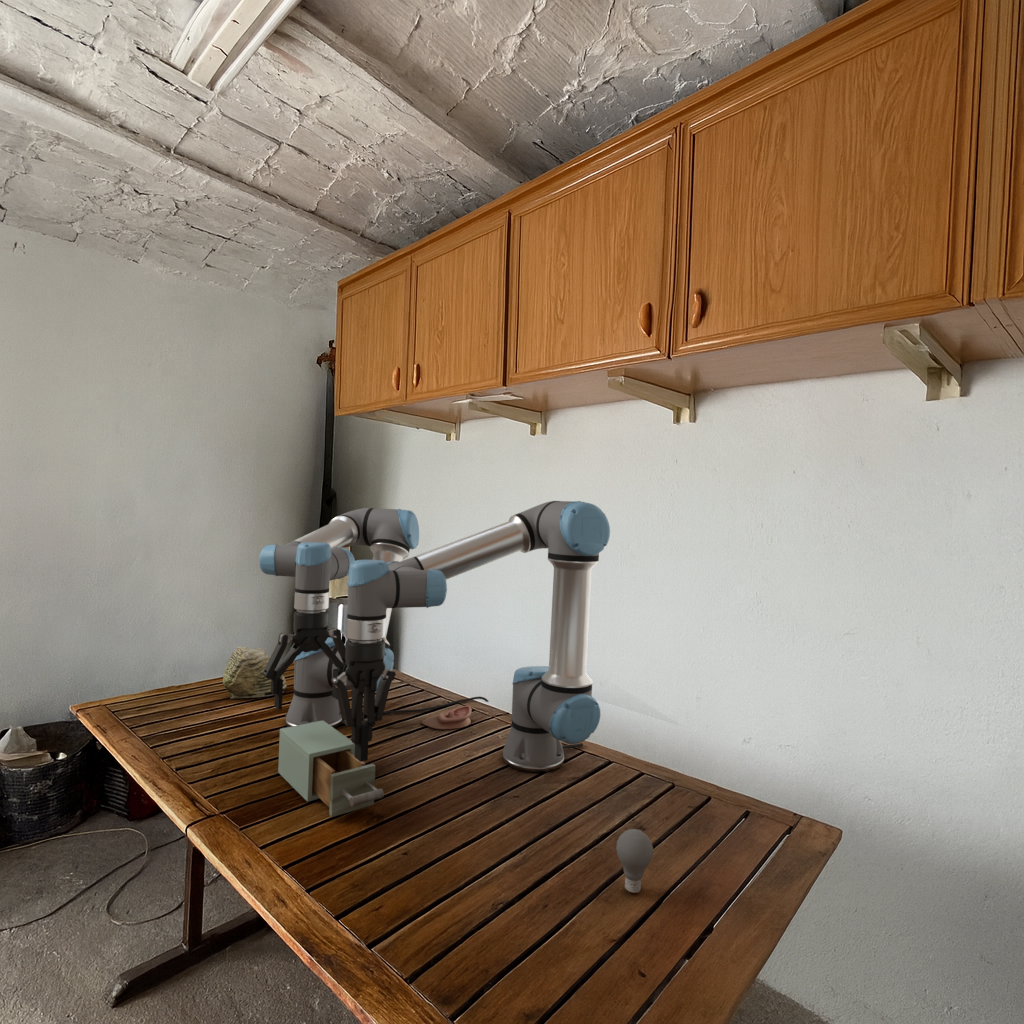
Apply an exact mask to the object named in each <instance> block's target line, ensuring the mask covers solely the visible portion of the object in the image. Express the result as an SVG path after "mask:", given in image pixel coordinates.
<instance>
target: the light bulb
mask: <svg viewBox="0 0 1024 1024" xmlns="http://www.w3.org/2000/svg"><path fill="white" fill-rule="evenodd" d="M615 849H616V854H617V857H618V859H619V861H620V863H621V865H622V867H623V873H624V874H623V875H624V876H625V878H624V888H625V890H627V891H628V892H630V893H634V894H635V893H639V892H640V891H641V889H642V887H641V886H642V879H643V877H644V875H645V871H646V868H647V867H648V866H649V864H650V863H651V861H652V859H653V855H654V847H653V843H652V841H651V838H649V836H648V835H647V834H646V833H645V832H643V831H642V830H641V829H636V828H629V829H627V830H625V831H623V832H622V833H621V834H620V835H619V837H618V839H617V841H616V847H615Z"/></svg>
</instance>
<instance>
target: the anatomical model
mask: <svg viewBox="0 0 1024 1024" xmlns="http://www.w3.org/2000/svg"><path fill="white" fill-rule="evenodd" d="M471 715H472V707H471V706H470V705H462V706H459V707H456V708H455V707H454V708H452V709H449V710H447V711H444V712H441V713H437V714H434V715H430V716H429V717H427V718H425V719H423V720H422V721H421V724H422V725H423V726H426V727H429V728H432V729H436V730H453V729H454V730H455V729H460V728H465V727H468V726H469V725H470V724H471V722H472V721H471V718H470V717H471Z"/></svg>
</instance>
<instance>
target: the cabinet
mask: <svg viewBox="0 0 1024 1024" xmlns="http://www.w3.org/2000/svg"><path fill="white" fill-rule="evenodd" d="M278 741H279V742H278V766H277V767H278V768H277V769H278V770H277V772H278V774H279V775H280V776H281V777H282V778H283V779H284V780H285V781H286V782H287V783H288V784H289V785H290V786H291V787H292V789H294V790H295V792H297V793H298V794H299V795H300V796H301V797H302V798H303V799H304V800H305V801H306V802H307V803H309V802H312V801H317V800H319V799H320V798H319V797H318V796H317V795H316V794H315V793H314V792H313V791H312V782H313V757H318V756H322V755H326V754H330V753H335V752H339V751H343V750H348V751H350V752H351V753H352V754H354V755H355V744H354V743H353V742H352V741H351V738H348V737H347V736H346V735H345V734H343V733H342V732H340V731H339V730H337V729H336V728H333V727H332V726H330V725H329V724H328V723H326V722H325V721H317V722H312V723H307V724H302V725H297V726H292V727H287V726H286V727H282V728H279V739H278Z"/></svg>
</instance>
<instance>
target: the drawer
mask: <svg viewBox="0 0 1024 1024" xmlns="http://www.w3.org/2000/svg"><path fill="white" fill-rule="evenodd" d="M312 791H313V792H314V793H315V794H316V795H317V796H318V797H319V799H320V800H321V802H323V803H324V804H325V805H326V806H327V807H328V808H329V809H328V811H329V812H328V815H329V816H330V817H331V818H334V817H338V816H341V815H344V814H347V813H350V812H353V811H357V810H360V809H363V808H366V807H367V808H368V807H370V806H373V805H375V801H376V800H380V799H382V798H384V795H385V792H384V790H383V788H377V787H376V765H375V764H374V763H370V764H366V762H365V761H362V762H360V761H359V760H358V759H356V758H355V757H354V754H352V753H351V752H350V751H348V750H343V751H339V752H335V753H330V754H326V755H322V756H318V757H313V782H312Z"/></svg>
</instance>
